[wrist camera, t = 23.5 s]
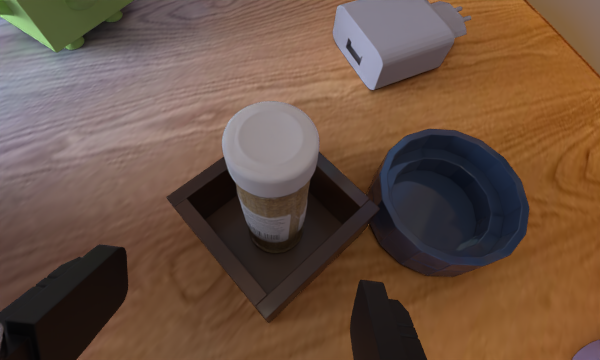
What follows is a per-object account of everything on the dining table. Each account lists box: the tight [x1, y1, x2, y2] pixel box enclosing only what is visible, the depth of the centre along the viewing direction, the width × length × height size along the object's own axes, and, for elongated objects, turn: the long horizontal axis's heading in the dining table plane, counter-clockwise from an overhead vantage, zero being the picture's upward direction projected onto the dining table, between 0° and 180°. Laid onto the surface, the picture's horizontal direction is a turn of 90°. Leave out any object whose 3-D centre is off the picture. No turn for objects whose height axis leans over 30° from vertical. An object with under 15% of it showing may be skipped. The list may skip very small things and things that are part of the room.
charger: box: [333, 0, 471, 90], centre depth 36 cm, size 5×9×15 cm
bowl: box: [366, 129, 529, 277], centre depth 27 cm, size 11×11×5 cm
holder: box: [167, 152, 380, 323], centre depth 25 cm, size 10×10×6 cm
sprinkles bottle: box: [222, 101, 319, 253], centre depth 21 cm, size 5×5×14 cm
